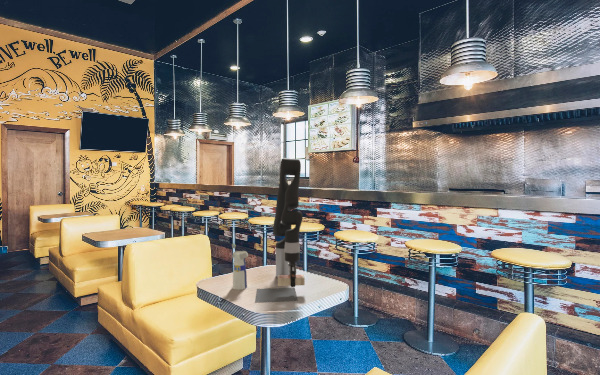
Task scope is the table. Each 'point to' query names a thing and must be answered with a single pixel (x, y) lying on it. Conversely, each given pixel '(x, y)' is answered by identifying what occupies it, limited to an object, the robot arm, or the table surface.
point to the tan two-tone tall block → (286, 281)
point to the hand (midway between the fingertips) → (292, 284)
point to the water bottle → (239, 269)
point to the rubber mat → (275, 295)
